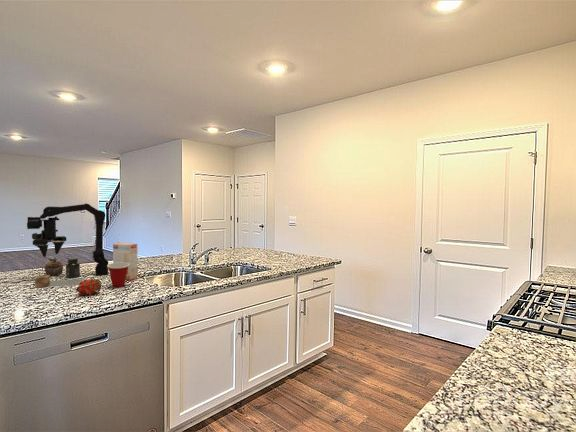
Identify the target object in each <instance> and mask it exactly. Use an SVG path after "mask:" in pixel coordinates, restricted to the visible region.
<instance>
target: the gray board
mask: <svg viewBox="0 0 576 432" xmlns="http://www.w3.org/2000/svg"><path fill="white" fill-rule="evenodd" d="M84 280H85V278H74V279H63V280H62V279H61V280H50V285H49V286H48V287H47V288H53V287H54V288H55V287H70V286H79V284H80V282H83V281H84ZM42 288H44V287H38V288H37V289H42Z"/></svg>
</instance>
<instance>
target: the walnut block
mask: <svg viewBox="0 0 576 432" xmlns="http://www.w3.org/2000/svg"><path fill="white" fill-rule="evenodd" d="M34 280H35V283H34V284H35V285H34V286H35V287H34V289H39V288H38V287H43V288H49V287H48V286H49V285H50V281H51V276H50V275H46V274H45V275H38V276H36V277H35V279H34Z"/></svg>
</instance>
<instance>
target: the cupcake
mask: <svg viewBox="0 0 576 432" xmlns="http://www.w3.org/2000/svg"><path fill="white" fill-rule="evenodd" d="M63 270H64V264H63V263H62V262H61V260H60V259H58V258H56V257H54V258H53V259H52V258H48V259H47V260H46V263H45V265H44V271H45V275H50V277H58V276H62V274H63ZM57 275H58V276H57Z"/></svg>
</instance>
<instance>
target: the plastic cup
mask: <svg viewBox="0 0 576 432" xmlns="http://www.w3.org/2000/svg"><path fill="white" fill-rule="evenodd" d="M128 266H129V263H124V262H118V263H113V262H112V263H108V265H107V267H108V272H109V276H110V280H111V286H112V288H122V287H125V285H126V275H127V270H128Z"/></svg>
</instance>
